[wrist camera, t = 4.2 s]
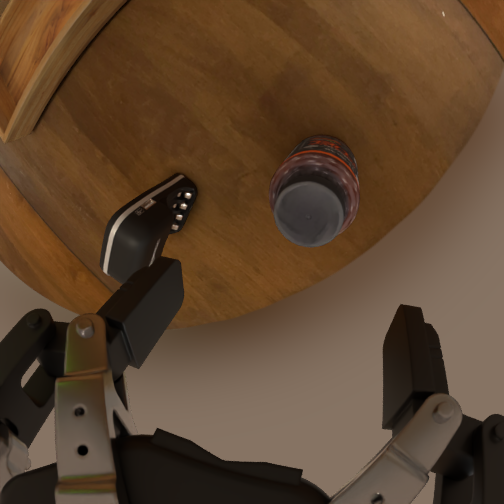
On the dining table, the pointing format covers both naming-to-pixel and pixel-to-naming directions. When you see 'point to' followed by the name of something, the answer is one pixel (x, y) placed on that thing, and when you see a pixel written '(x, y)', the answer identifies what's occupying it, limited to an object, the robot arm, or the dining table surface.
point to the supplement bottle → (315, 191)
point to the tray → (42, 54)
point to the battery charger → (145, 227)
